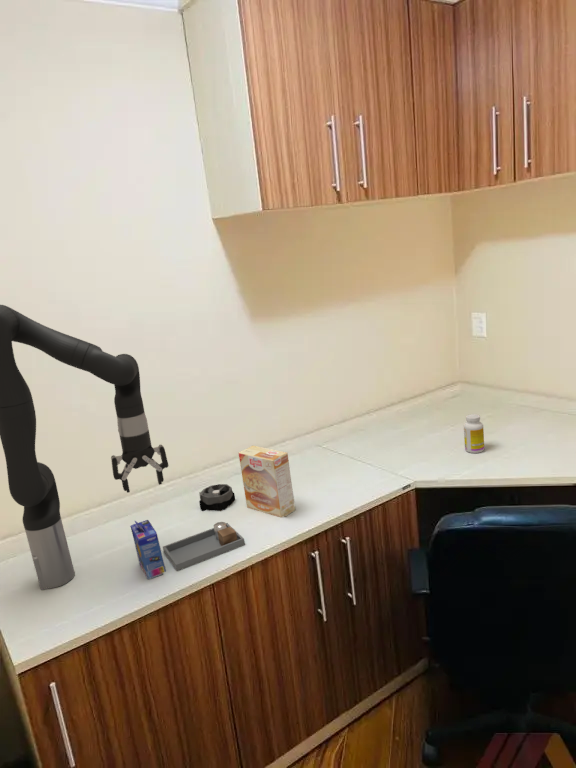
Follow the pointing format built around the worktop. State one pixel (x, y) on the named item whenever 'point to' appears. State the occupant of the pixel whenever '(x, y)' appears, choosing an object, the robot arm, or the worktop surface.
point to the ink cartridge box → (148, 549)
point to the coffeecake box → (267, 481)
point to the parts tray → (198, 548)
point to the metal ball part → (219, 528)
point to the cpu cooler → (216, 497)
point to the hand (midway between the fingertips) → (144, 487)
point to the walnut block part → (226, 536)
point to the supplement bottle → (473, 434)
